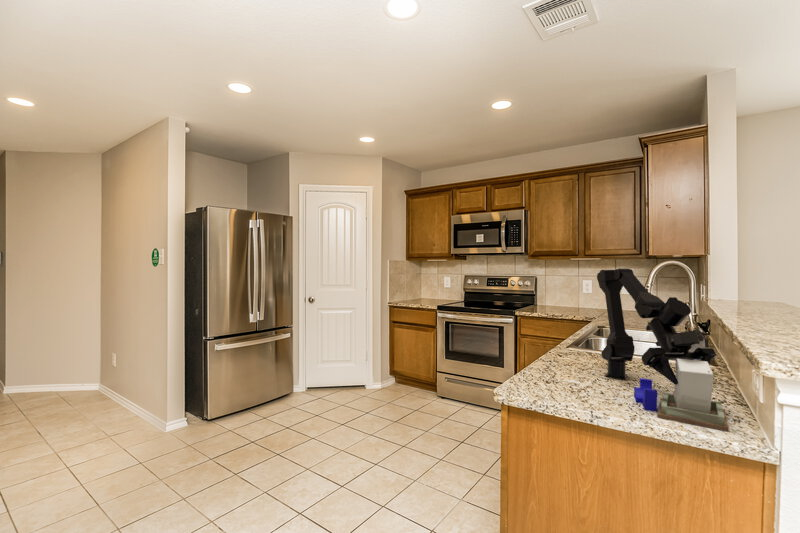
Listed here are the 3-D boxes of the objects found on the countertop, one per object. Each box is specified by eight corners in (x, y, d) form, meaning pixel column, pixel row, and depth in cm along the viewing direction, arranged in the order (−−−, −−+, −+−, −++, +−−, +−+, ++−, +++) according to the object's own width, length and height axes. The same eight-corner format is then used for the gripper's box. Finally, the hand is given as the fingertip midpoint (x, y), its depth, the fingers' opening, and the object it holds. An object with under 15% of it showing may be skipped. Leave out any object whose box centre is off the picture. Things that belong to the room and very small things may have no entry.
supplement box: (704, 401, 112) (708, 361, 109) (710, 417, 106) (714, 374, 103) (673, 396, 116) (676, 357, 113) (676, 411, 109) (679, 370, 106)
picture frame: (660, 401, 120) (660, 391, 120) (724, 412, 112) (724, 402, 112) (657, 417, 108) (657, 406, 108) (728, 431, 100) (728, 419, 99)
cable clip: (634, 396, 125) (634, 377, 125) (650, 398, 123) (651, 379, 123) (638, 409, 114) (638, 388, 114) (656, 412, 112) (657, 391, 112)
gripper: (649, 319, 114) (676, 369, 103) (712, 319, 114) (746, 369, 104) (631, 341, 122) (654, 389, 111) (690, 340, 122) (719, 388, 112)
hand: (693, 383), depth 109 cm, fingers closed on supplement box, 9 cm apart
